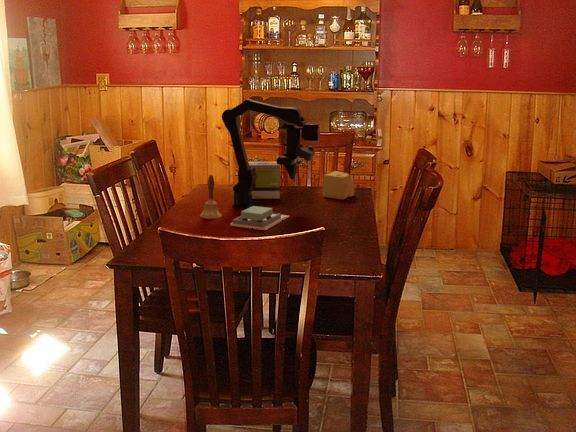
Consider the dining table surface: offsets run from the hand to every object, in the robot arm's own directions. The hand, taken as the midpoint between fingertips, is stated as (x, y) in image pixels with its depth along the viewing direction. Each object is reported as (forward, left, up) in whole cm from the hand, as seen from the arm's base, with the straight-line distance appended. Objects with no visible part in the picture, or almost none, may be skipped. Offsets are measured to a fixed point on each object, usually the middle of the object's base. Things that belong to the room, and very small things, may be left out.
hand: (292, 179), depth 276 cm
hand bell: (-23, -25, -12) cm, 36 cm away
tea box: (-20, +15, -12) cm, 28 cm away
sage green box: (-2, -27, -11) cm, 30 cm away
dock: (-3, -23, -12) cm, 26 cm away
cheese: (+9, +31, -12) cm, 35 cm away
